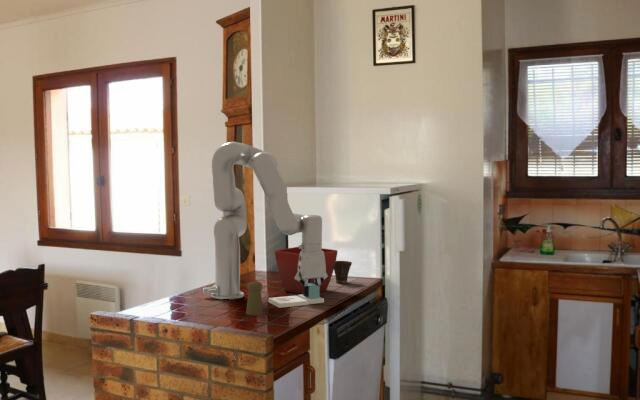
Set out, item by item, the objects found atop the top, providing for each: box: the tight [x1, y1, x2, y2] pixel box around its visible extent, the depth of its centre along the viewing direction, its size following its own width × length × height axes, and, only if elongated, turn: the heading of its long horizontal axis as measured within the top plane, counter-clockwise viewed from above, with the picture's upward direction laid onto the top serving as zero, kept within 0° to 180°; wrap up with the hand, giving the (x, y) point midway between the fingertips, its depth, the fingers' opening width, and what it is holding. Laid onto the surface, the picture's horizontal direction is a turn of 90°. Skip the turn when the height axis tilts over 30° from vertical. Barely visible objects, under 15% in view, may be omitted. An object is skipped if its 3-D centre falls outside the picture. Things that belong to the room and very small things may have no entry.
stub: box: [297, 283, 325, 305], centre depth 223 cm, size 6×10×6 cm, turn 28°
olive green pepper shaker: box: [245, 280, 264, 317], centre depth 203 cm, size 6×6×11 cm
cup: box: [333, 260, 353, 285], centre depth 260 cm, size 9×9×10 cm
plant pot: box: [274, 246, 339, 295], centre depth 242 cm, size 19×19×17 cm
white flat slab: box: [268, 294, 310, 309], centre depth 219 cm, size 12×10×2 cm
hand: (311, 295), depth 223 cm, fingers closed on stub, 3 cm apart
